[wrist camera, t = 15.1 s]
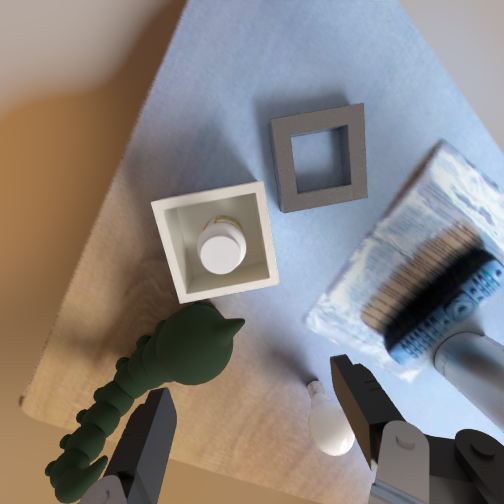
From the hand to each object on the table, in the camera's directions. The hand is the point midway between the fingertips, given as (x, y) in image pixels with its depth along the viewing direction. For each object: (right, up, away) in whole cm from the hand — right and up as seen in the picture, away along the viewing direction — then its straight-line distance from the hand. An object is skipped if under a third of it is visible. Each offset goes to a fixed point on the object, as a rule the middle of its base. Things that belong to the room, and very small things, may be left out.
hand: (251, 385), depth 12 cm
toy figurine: (-12, -6, +27) cm, 30 cm away
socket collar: (+8, +18, +21) cm, 29 cm away
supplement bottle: (-4, +9, +22) cm, 24 cm away
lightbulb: (+11, -16, +31) cm, 37 cm away
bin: (-4, +9, +22) cm, 25 cm away
